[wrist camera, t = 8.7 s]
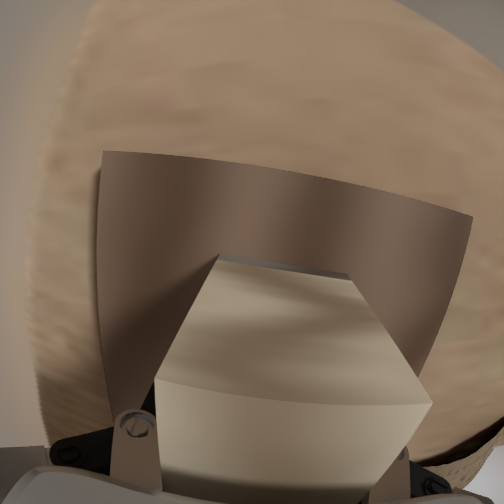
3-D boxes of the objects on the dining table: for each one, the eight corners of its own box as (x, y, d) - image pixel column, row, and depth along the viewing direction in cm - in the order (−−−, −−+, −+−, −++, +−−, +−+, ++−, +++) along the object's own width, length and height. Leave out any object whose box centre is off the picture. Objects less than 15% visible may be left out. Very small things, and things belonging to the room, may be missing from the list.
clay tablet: (513, 402, 16) (527, 419, 14) (485, 461, 19) (494, 477, 16) (371, 463, 18) (378, 489, 15) (366, 508, 20) (370, 528, 18)
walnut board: (456, 211, 12) (473, 217, 11) (317, 508, 19) (319, 521, 18) (119, 151, 12) (103, 150, 11) (138, 484, 19) (133, 496, 18)
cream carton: (346, 273, 12) (432, 403, 4) (296, 429, 14) (304, 552, 7) (220, 253, 12) (153, 378, 4) (202, 417, 14) (171, 540, 7)
